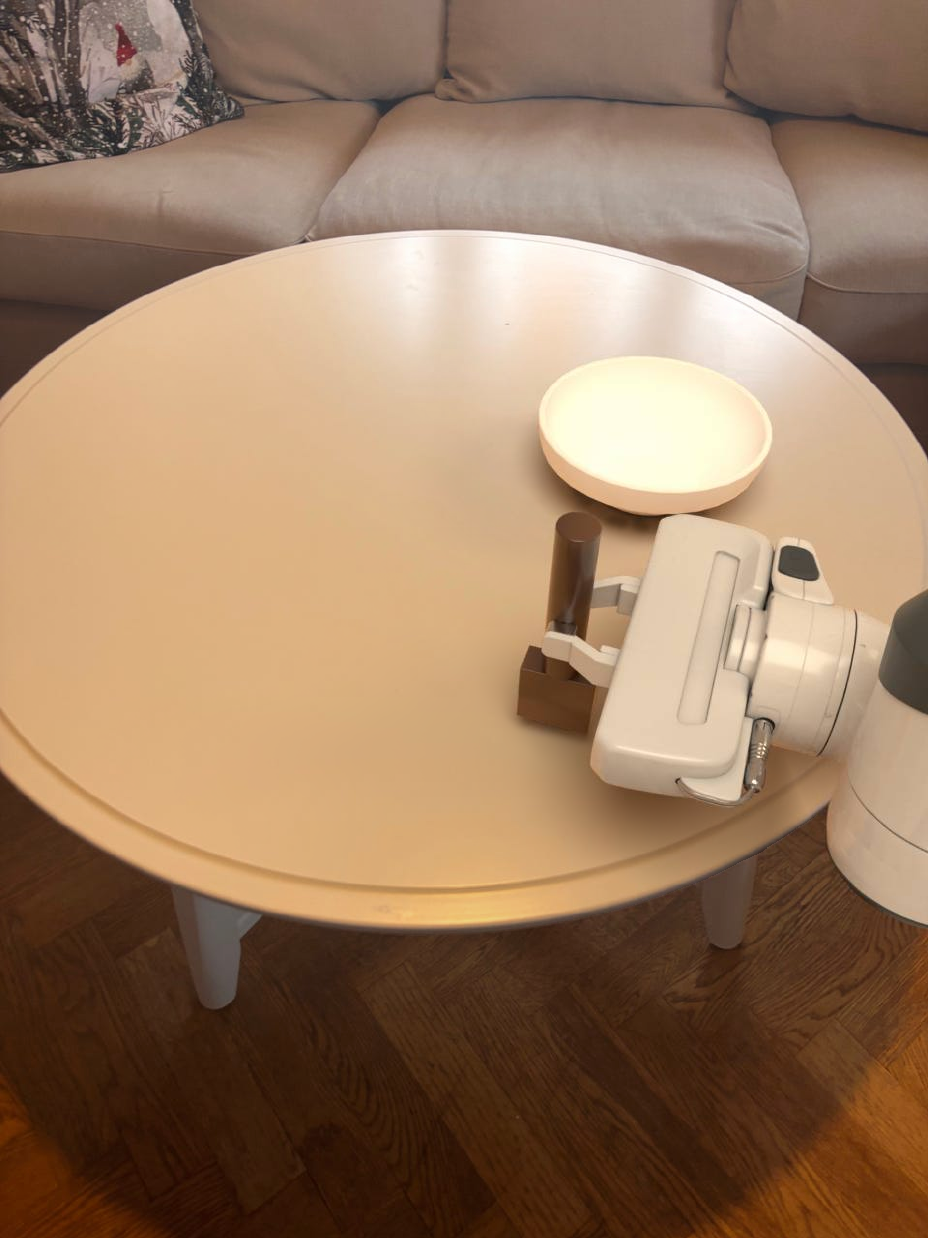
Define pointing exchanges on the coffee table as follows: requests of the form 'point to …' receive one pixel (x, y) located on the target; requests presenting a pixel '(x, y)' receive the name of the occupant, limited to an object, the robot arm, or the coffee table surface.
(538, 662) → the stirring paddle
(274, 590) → the coffee table surface
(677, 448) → the bowl
